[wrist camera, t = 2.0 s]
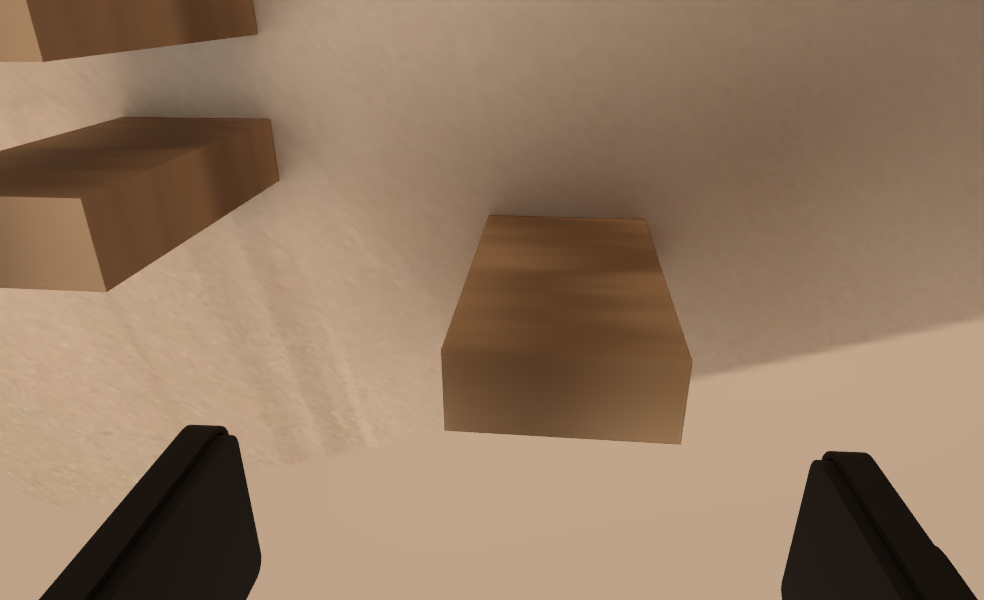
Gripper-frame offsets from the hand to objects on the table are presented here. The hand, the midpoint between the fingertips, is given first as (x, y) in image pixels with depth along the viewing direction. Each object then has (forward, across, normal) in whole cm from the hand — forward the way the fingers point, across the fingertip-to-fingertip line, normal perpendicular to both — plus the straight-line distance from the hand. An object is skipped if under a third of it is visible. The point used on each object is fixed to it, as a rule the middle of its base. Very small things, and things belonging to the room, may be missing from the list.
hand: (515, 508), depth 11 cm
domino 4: (+12, +11, -3) cm, 17 cm away
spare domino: (+12, -1, 0) cm, 12 cm away
